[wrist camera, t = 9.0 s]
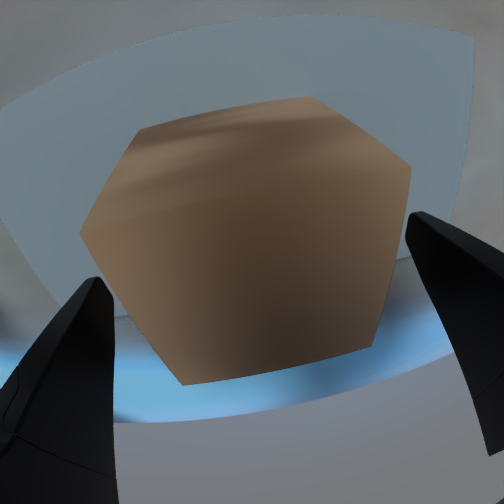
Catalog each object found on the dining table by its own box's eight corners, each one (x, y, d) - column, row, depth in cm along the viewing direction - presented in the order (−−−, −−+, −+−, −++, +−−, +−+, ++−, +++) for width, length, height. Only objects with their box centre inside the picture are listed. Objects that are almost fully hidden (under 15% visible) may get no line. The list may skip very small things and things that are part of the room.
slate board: (80, 297, 16) (73, 322, 15) (-14, 121, 9) (-38, 136, 7) (425, 227, 17) (442, 247, 15) (445, 31, 9) (473, 36, 7)
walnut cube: (183, 258, 13) (182, 385, 9) (139, 129, 9) (79, 233, 5) (317, 232, 13) (371, 346, 9) (311, 96, 9) (412, 167, 5)
